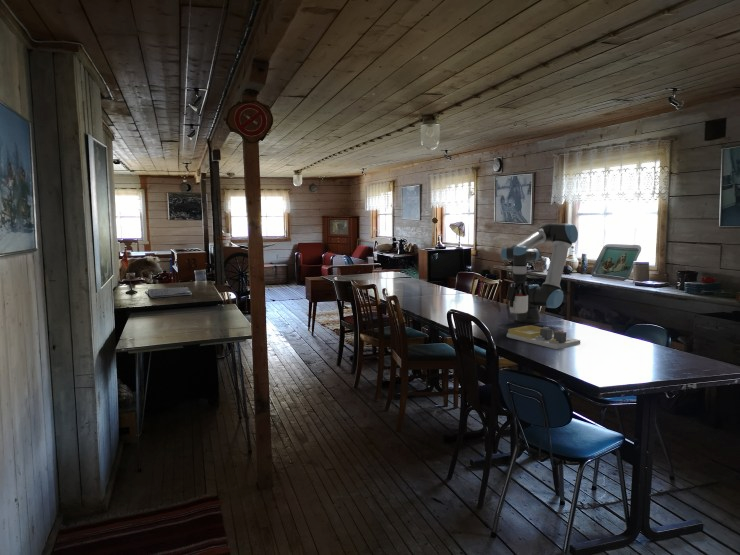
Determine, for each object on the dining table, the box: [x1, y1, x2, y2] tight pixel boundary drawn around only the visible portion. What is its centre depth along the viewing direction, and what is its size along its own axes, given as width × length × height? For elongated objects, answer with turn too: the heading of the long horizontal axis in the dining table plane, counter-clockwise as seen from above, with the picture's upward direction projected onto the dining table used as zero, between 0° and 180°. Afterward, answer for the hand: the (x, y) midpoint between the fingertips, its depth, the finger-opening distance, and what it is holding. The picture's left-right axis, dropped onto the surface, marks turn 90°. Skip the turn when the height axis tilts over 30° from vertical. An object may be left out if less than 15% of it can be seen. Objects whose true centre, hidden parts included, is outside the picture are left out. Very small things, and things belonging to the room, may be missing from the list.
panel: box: [506, 324, 581, 350], centre depth 283 cm, size 20×32×4 cm, turn 34°
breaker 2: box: [553, 330, 568, 343], centre depth 270 cm, size 4×4×6 cm
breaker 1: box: [540, 326, 553, 340], centre depth 277 cm, size 4×4×6 cm
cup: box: [514, 293, 528, 314], centre depth 304 cm, size 10×10×10 cm
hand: (518, 311), depth 305 cm, fingers closed on cup, 10 cm apart
